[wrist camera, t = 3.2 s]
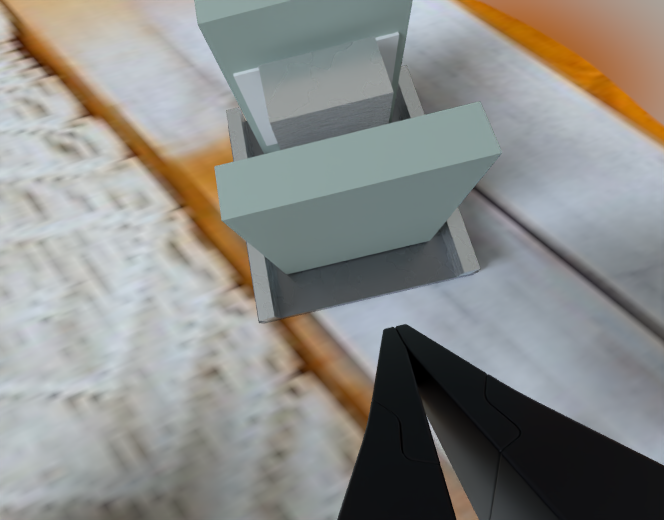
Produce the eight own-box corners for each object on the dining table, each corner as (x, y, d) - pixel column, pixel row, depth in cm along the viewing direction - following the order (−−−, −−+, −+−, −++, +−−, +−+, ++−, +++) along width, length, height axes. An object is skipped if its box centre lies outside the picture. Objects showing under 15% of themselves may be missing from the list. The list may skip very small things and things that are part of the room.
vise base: (472, 274, 20) (488, 266, 18) (263, 323, 21) (251, 322, 18) (407, 90, 24) (413, 63, 22) (233, 133, 25) (219, 111, 22)
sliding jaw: (430, 240, 20) (502, 152, 10) (286, 274, 20) (221, 220, 10) (419, 207, 20) (477, 94, 11) (280, 240, 21) (213, 159, 11)
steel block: (379, 178, 21) (393, 91, 14) (300, 197, 22) (269, 123, 14) (367, 138, 22) (374, 35, 15) (291, 157, 22) (258, 65, 15)
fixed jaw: (391, 127, 22) (419, -29, 13) (265, 157, 23) (198, 27, 13) (383, 100, 23) (403, -68, 13) (260, 130, 23) (192, -13, 14)
